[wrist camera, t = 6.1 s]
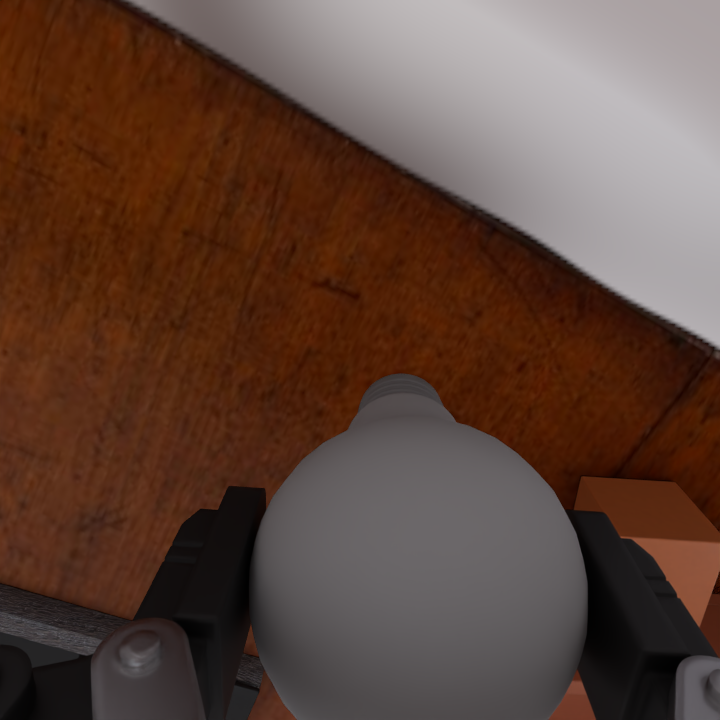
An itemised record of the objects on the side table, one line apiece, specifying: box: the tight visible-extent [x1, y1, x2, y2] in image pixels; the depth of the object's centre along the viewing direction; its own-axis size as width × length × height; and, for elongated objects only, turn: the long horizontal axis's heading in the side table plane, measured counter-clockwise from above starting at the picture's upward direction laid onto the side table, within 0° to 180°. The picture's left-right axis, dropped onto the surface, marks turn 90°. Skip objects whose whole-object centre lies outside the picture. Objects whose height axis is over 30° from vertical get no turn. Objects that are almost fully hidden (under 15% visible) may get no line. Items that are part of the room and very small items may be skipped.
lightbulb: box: [249, 374, 588, 720], centre depth 13 cm, size 6×6×11 cm
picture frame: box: [0, 584, 264, 720], centre depth 32 cm, size 13×2×18 cm
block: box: [574, 476, 720, 627], centre depth 26 cm, size 4×4×4 cm
